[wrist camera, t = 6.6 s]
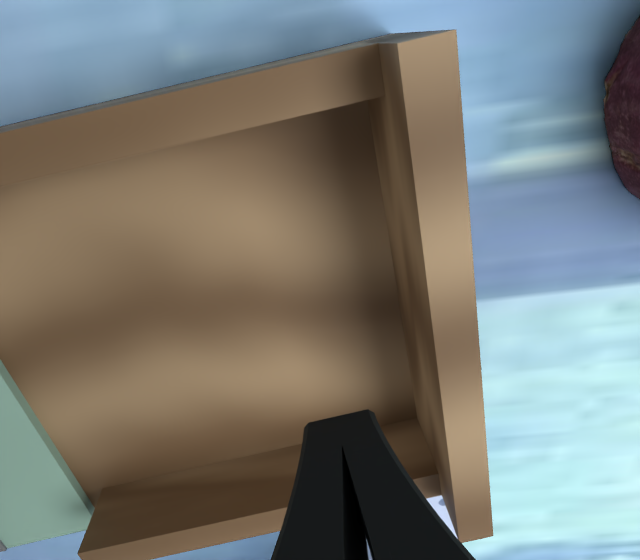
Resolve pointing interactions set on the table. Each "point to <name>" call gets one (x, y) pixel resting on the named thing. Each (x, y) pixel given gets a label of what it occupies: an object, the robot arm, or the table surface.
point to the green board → (34, 477)
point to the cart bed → (247, 288)
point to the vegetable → (625, 110)
